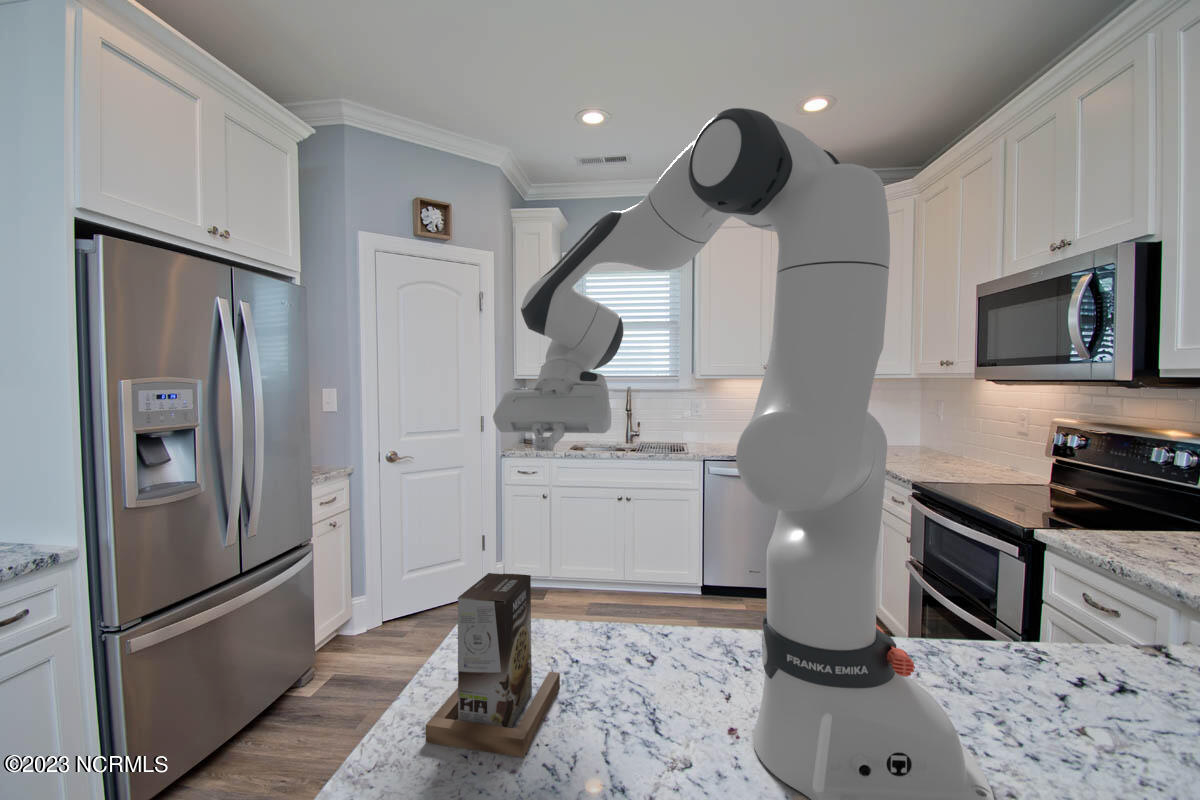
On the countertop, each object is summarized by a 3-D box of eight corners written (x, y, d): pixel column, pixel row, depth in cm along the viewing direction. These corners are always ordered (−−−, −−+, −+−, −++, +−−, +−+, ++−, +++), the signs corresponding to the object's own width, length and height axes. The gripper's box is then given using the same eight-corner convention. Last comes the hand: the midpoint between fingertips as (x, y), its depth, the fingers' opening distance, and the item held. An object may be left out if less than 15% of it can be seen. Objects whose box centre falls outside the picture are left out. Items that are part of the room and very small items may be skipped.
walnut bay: (559, 687, 68) (559, 672, 68) (523, 757, 55) (523, 739, 55) (478, 677, 71) (478, 663, 71) (425, 742, 58) (425, 724, 58)
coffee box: (507, 739, 58) (505, 601, 58) (456, 731, 59) (454, 597, 59) (534, 693, 67) (532, 573, 67) (489, 687, 68) (488, 570, 68)
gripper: (501, 376, 90) (476, 435, 80) (612, 374, 85) (600, 436, 76) (511, 401, 94) (489, 459, 85) (617, 400, 90) (607, 462, 80)
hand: (542, 448), depth 80 cm, fingers closed
